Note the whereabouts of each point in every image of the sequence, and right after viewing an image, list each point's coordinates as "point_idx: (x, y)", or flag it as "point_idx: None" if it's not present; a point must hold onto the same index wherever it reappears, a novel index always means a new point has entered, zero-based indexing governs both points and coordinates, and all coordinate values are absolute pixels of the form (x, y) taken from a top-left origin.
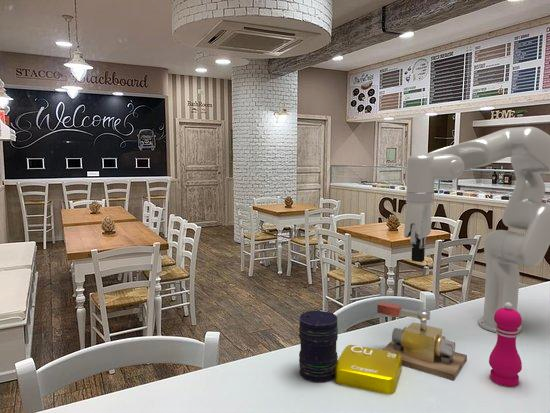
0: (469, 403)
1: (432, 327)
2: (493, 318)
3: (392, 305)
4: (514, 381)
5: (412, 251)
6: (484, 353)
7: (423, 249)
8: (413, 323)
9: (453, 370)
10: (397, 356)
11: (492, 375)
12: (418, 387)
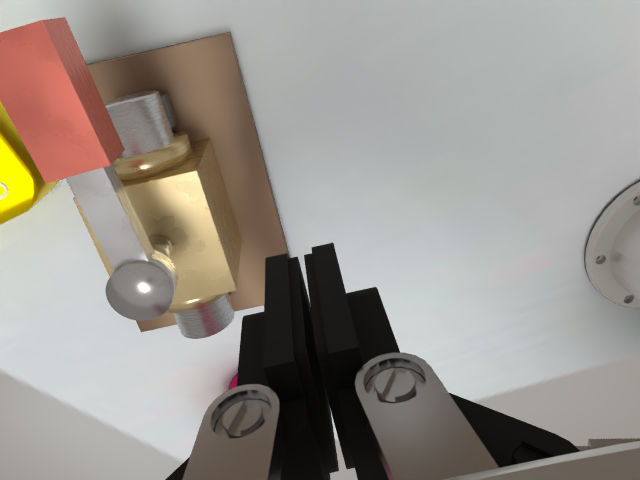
0: (77, 389)
1: (217, 258)
2: (634, 261)
3: (57, 124)
4: None
5: (266, 332)
6: (388, 297)
7: (328, 476)
8: (184, 180)
9: (163, 319)
10: (5, 204)
11: (233, 386)
12: (14, 281)
